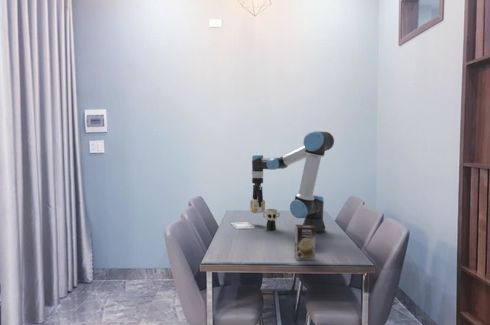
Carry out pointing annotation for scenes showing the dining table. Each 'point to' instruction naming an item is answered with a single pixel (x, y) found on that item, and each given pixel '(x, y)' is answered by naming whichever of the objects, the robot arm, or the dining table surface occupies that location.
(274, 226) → the character mug
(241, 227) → the white flat piece
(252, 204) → the wooden plinth
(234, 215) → the dining table surface
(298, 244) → the coffee box
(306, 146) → the robot arm
